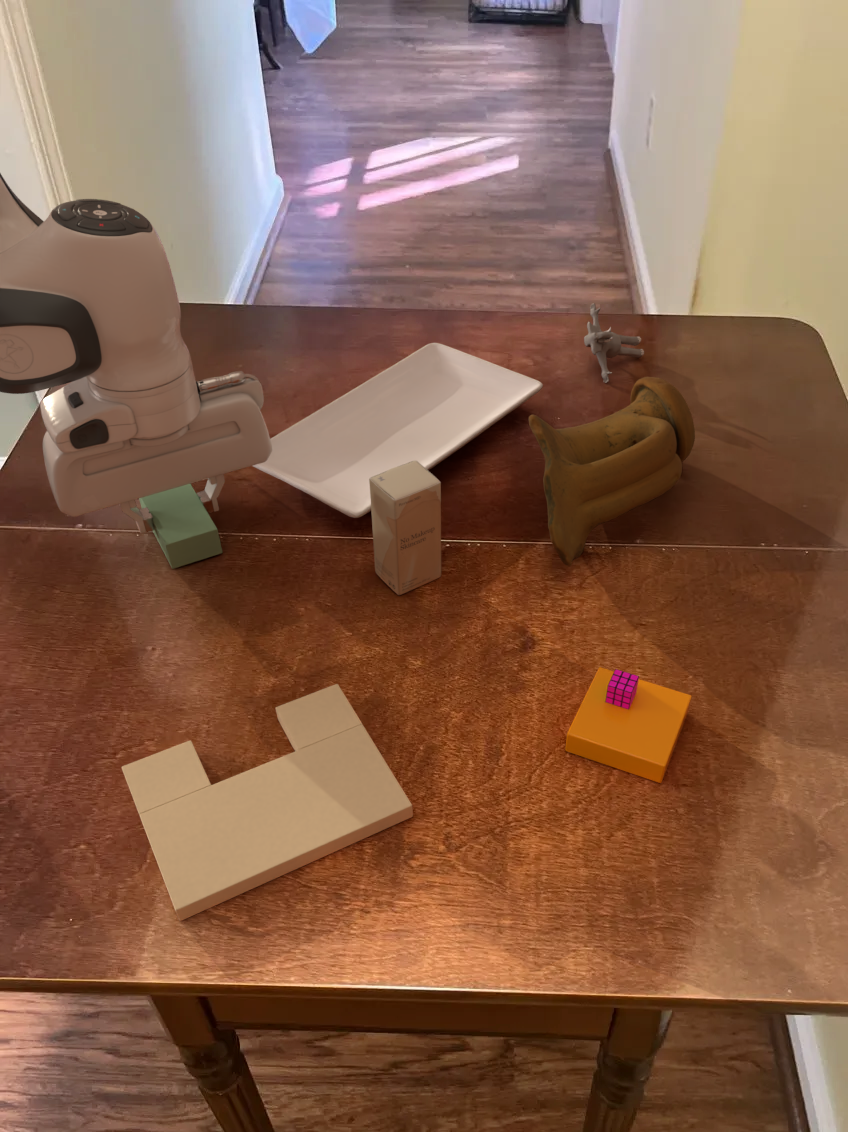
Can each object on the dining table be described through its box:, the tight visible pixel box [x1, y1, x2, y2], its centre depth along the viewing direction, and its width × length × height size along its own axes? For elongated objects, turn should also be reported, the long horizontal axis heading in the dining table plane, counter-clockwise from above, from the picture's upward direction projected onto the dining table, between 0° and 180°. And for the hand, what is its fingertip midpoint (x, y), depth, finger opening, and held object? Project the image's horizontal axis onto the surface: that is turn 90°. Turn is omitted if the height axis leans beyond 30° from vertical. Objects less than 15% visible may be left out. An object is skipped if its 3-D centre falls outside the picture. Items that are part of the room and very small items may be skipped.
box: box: [369, 460, 442, 596], centre depth 90 cm, size 5×4×11 cm
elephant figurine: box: [583, 302, 645, 384], centre depth 120 cm, size 10×6×9 cm
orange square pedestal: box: [564, 666, 693, 784], centre depth 79 cm, size 8×8×4 cm
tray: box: [252, 342, 544, 519], centre depth 108 cm, size 17×31×4 cm, turn 142°
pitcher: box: [528, 376, 696, 567], centre depth 97 cm, size 18×13×22 cm
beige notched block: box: [121, 683, 414, 922], centre depth 75 cm, size 18×14×2 cm
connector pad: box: [138, 483, 223, 570], centre depth 96 cm, size 10×5×3 cm, turn 29°
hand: (178, 519), depth 96 cm, fingers closed on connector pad, 5 cm apart
